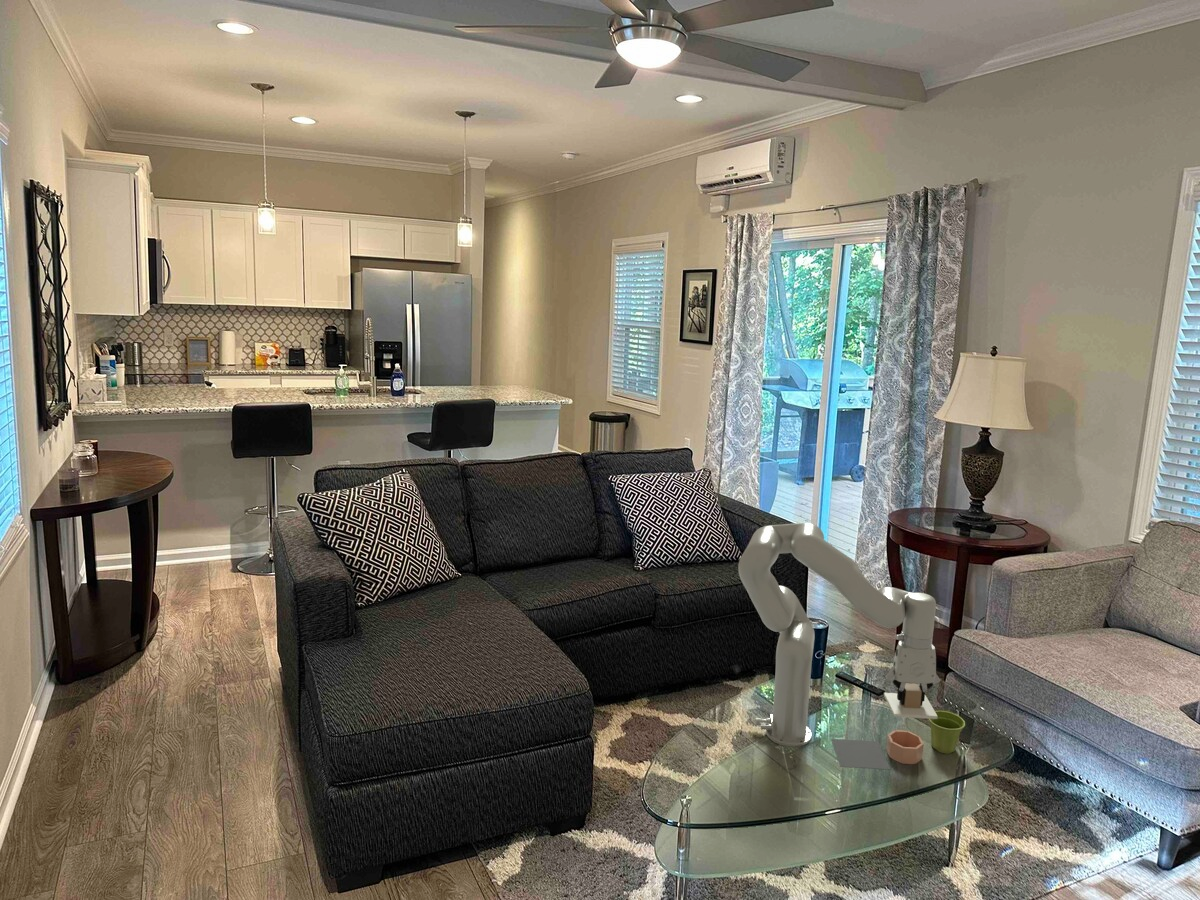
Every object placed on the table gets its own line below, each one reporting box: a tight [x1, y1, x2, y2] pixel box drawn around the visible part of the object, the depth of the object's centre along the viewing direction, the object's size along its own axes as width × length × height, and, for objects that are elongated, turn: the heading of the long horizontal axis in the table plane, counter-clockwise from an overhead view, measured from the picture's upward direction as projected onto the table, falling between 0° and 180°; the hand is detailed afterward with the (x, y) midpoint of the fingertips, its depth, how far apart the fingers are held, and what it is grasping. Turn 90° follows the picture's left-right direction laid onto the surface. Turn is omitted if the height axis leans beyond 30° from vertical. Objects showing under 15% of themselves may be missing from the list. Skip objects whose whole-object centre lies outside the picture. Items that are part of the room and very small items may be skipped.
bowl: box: [885, 729, 925, 765], centre depth 228 cm, size 9×9×5 cm
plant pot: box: [928, 710, 966, 755], centre depth 232 cm, size 9×9×9 cm
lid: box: [883, 683, 938, 720], centre depth 225 cm, size 11×11×6 cm
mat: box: [830, 738, 891, 771], centre depth 229 cm, size 13×13×1 cm
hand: (910, 702), depth 225 cm, fingers closed on lid, 4 cm apart
